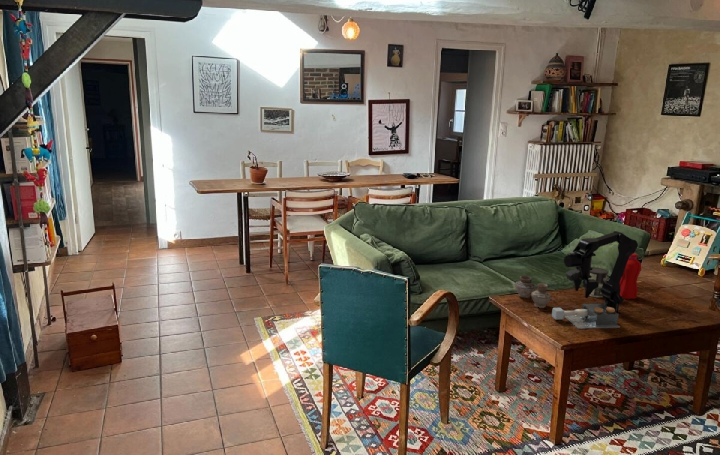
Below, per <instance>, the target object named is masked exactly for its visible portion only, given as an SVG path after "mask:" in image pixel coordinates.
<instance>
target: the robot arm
mask: <svg viewBox="0 0 720 455" xmlns="http://www.w3.org/2000/svg"><path fill="white" fill-rule="evenodd" d="M615 242H616V243H617V251H618V255H617V257H616V261H615V264H613V265H614V266H613V268H612V271H611V274H610V276H609V279H608V280H606V283H605V282H604V283H603V286H602V288H601V293H602V296H603V297H602V298H603V299H604V301H603V304H605V305H606V306H608V307H611V308H614V309H615V312H616V313H618V314H621V313H620V311H619V308H620V304H622V303H623V301H624V299H623V298H622V297H621V296H620V291H621V289H620V281H621V278H622V275H623V273H624V270H625V267H626V264H627V262H628V259H629V257H630V256H631V255H632V254H633V253H636V251H637V249H638V246H639V243H638V241H637V240H636V239H633V238H630V237H628V235H625V233H623V232H620V231H618V230H616V231H612V232H610V233H607V234H604V235H599V236H597V237H593V238H590V237H589V238H581V239H580V240H579V242H577V244H576V246H575V248H573V251H572V252H568V253H567V255H566V256H565V257H564V259H563V263H564V265H565V267H567V268H572V269H569V270H567V271H566V272H565V276H566V279H567V280H569V281H570V282H573V286H574V289H575V292H578V291H579V289H580V287H581V284H583V285H582V287H583V288H584V298H585V299H588V298H589V297H590V296H589V295H590V294H591V293H592V291H593V290H594V289H595V288H597V287H599V283H598V282H597V281H596V280H594V279H589V278H591V277H592V276H591V275H590V270H592V269H593V268H591V267H592V261H593V259H592V258H593V257H596V256H597V255H596V253H595V252H596V251H598V250H599V248H601V247H603V246H607V245H610V244H614V243H615ZM574 267H575V268H574ZM573 268H574V269H573Z"/></svg>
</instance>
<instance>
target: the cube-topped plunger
mask: <svg viewBox="0 0 720 455" xmlns="http://www.w3.org/2000/svg"><path fill="white" fill-rule="evenodd" d="M588 312H589V310H588V309H582V308H581V309H577V308H576V309H574V310H564V309H562V308H561V307H553V308H552V310H551V317H552V318H553V319H555V320H564V318H565V317H564V316H576V317H587V316H588Z"/></svg>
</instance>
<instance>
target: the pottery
mask: <svg viewBox="0 0 720 455" xmlns="http://www.w3.org/2000/svg"><path fill="white" fill-rule="evenodd" d="M532 280H533V278H532V276H528V275H520V276H519V281H516V282H514V288H515V291H516V292H517V293H518V296H519V297H521V298H526V299H528V298H530V297H531V299H532V301H533V302H534V307H536V308H538V307H539V308H540V309H544V307H545V308H546V307H547V306H546V305H547V304H549V303H550V300H551V298H552V295H551V294H550V293H549V292H548V291H547V289H548V284H547V283H541V282H539V283H537V285H536V284H535V283H533V282H532ZM536 288H537V289H536Z"/></svg>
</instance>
